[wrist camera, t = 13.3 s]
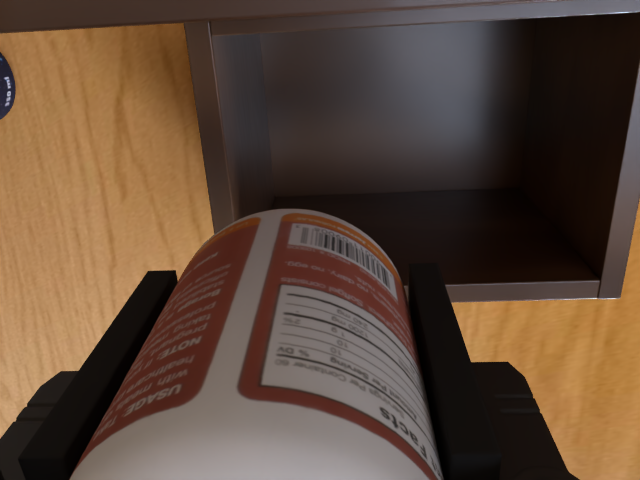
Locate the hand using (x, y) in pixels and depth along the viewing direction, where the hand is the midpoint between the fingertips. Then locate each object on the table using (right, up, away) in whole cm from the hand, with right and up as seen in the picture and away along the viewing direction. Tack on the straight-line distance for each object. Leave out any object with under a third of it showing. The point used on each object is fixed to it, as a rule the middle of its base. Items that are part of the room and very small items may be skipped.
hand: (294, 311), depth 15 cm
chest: (+5, +11, +20) cm, 23 cm away
